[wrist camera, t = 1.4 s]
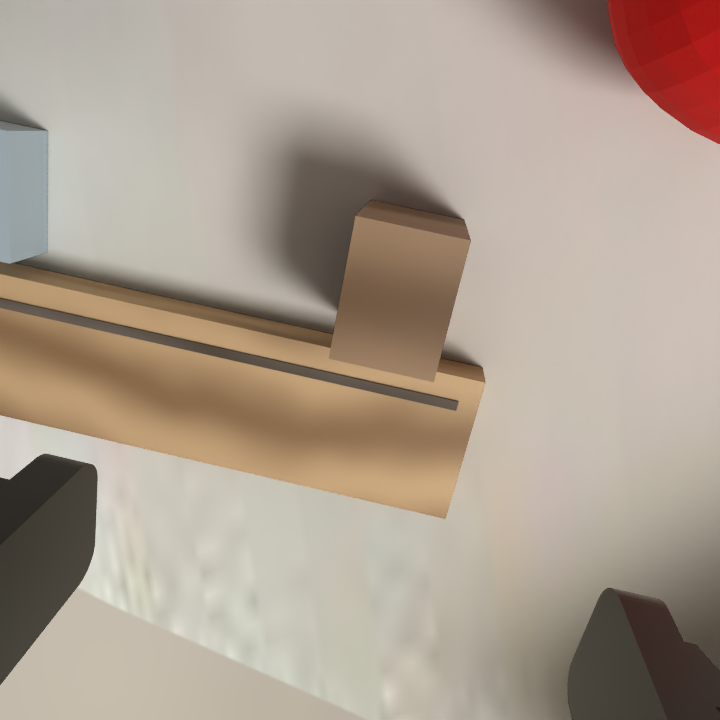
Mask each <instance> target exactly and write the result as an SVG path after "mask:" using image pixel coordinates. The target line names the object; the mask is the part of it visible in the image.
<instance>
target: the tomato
mask: <svg viewBox="0 0 720 720" xmlns="http://www.w3.org/2000/svg"><path fill="white" fill-rule="evenodd" d="M608 10H609V19H610V23H611V28H612V33H613V38H614V42H615V45H616V47H617V50H618V52H619V54H620V56H621V58H622V61H623V63H624V65H625V67H626V69H627V70H628V72H629V73H630V74H631V76H632V77H633V78H634V80H635V81H636V82H637V84H638V85H639V86H640V88H641V89H642V90H643V91H644V92H645V93H646V94H647V95H648V96H649V97H650V98H651V99H652V100H653V101H654V102H655V103H656V104H657V105H658V106H659V107H660V108H661V109H663V110H664V111H665V112H667V113H668V114H670V115H671V116H672V117H674V118H675V119H676V120H678V121H679V122H681V123H682V124H683V125H685V126H686V127H687V128H689V129H690V130H692V131H694V132H696V133H698V134H700V135H702V136H704V137H706V138H708V139H710V140H712V141H714V142H716V143H718V144H720V0H608Z"/></svg>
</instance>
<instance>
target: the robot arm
mask: <svg viewBox="0 0 720 720" xmlns="http://www.w3.org/2000/svg"><path fill="white" fill-rule="evenodd" d="M96 504H97V470H96V468H95V466H94V465H92V464H88V463H84V462H80V461H75V460H71V459H67V458H63V457H58V456H54V455H50V454H42V455H40V456H39V457H37V458H36V459H34V460H33V461H32V462H31V463H30V464H28V465H27V466H26V467H25V468H23V469H22V470H21V471H20V472H19V473H17V474H16V475H15V476H14V477H12V478H11V479H10V480H8V479H4V478H0V685H1V683H2V682H3V681H4V680H5V678H6V677H7V676H8V675H9V673H10V672H11V671H12V670H13V668H14V667H15V666H16V664H17V663H18V662H19V661H20V659H21V658H22V657H23V656H24V654H25V653H26V652H27V650H28V649H29V648H30V647H31V645H32V644H33V643H34V642H35V640H36V639H37V638H38V637H39V635H40V634H41V633H42V631H43V630H44V629H45V628H46V626H47V625H48V624H49V622H50V621H51V620H52V619H53V617H54V616H55V615H56V613H57V612H58V611H59V610H60V609H61V607H62V606H63V605H64V603H65V602H66V601H67V600H68V598H69V597H70V596H71V595H72V593H73V592H74V591H75V590H76V588H77V587H78V586H79V584H80V583H81V581H82V580H83V578H84V576H85V574H86V572H87V570H88V568H89V565H90V562H91V559H92V556H93V552H94V547H95V529H96ZM568 703H569V708H570V713H571V717H572V720H720V671H719V670H718V669H717V668H716V667H715V665H714V664H713V663H712V662H711V661H710V660H709V659H708V658H707V657H706V655H705V654H704V653H703V652H702V651H701V650H700V649H699V648H698V647H697V646H696V644H691V643H687V642H684V641H683V639H682V637H681V635H680V633H679V631H678V628H677V626H676V624H675V622H674V620H673V618H672V616H671V614H670V612H669V610H668V608H667V606H666V605H665V604H664V602H663V601H661V600H659V599H655V598H651V597H647V596H643V595H638V594H634V593H630V592H626V591H621V590H617V589H613V588H607V589H606V590H604V591H603V593H602V594H601V595H600V597H599V599H598V602H597V604H596V606H595V609H594V611H593V613H592V616H591V618H590V620H589V623H588V625H587V627H586V630H585V632H584V634H583V636H582V639H581V641H580V643H579V646H578V648H577V650H576V653H575V655H574V657H573V660H572V663H571V666H570V671H569V677H568Z"/></svg>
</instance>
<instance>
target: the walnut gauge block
mask: <svg viewBox="0 0 720 720" xmlns="http://www.w3.org/2000/svg"><path fill="white" fill-rule="evenodd" d="M470 242H471V240H470V236H469V233H468V230H467V227H466V224H465V221H464V220H463V219H459V218H454V217H449V216H445V215H440V214H435V213H431V212H426V211H421V210H417V209H412V208H407V207H403V206H398V205H393V204H389V203H384V202H379V201H375V200H370V201H369V202H368V203H367V204H366V205H365V206H364V207H363V208H362V210H361V211H360V212H359V213H358V214H357V215H356V216H355V221H354V226H353V232H352V237H351V242H350V248H349V253H348V258H347V263H346V269H345V274H344V279H343V285H342V290H341V295H340V301H339V306H338V311H337V317H336V322H335V327H334V333H333V338H332V343H331V349H330V354H329V359H332V360H337V361H341V362H346V363H350V364H355V365H359V366H363V367H368V368H372V369H377V370H381V371H386V372H390V373H394V374H399V375H403V376H408V377H412V378H417V379H421V380H426V381H430V382H434V380H435V376H436V372H437V368H438V365H439V361H440V357H441V353H442V349H443V345H444V342H445V338H446V334H447V330H448V326H449V322H450V319H451V315H452V311H453V307H454V303H455V299H456V296H457V292H458V288H459V284H460V280H461V276H462V273H463V269H464V265H465V261H466V257H467V253H468V250H469V246H470Z"/></svg>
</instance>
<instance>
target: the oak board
mask: <svg viewBox="0 0 720 720" xmlns="http://www.w3.org/2000/svg"><path fill="white" fill-rule="evenodd" d="M332 338H333V334H329V333H325V332H320V331H316V330H311V329H307V328H302V327H298V326H293V325H289V324H284V323H280V322H275V321H271V320H266V319H262V318H257V317H253V316H248V315H244V314H240V313H235V312H231V311H226V310H222V309H217V308H213V307H208V306H204V305H199V304H195V303H190V302H186V301H181V300H177V299H172V298H168V297H163V296H159V295H154V294H150V293H145V292H141V291H136V290H132V289H127V288H123V287H118V286H114V285H109V284H105V283H100V282H96V281H91V280H87V279H82V278H78V277H73V276H69V275H64V274H60V273H55V272H51V271H47V270H42V269H38V268H33V267H29V266H24V265H20V264H15V263H11V264H9V263H4V262H0V415H2V416H7V417H11V418H15V419H19V420H24V421H28V422H32V423H37V424H41V425H45V426H49V427H54V428H58V429H62V430H67V431H71V432H75V433H79V434H84V435H88V436H92V437H97V438H101V439H105V440H109V441H114V442H118V443H122V444H127V445H131V446H135V447H139V448H144V449H148V450H152V451H157V452H161V453H165V454H169V455H174V456H178V457H182V458H187V459H191V460H195V461H199V462H204V463H208V464H212V465H217V466H221V467H225V468H230V469H234V470H238V471H242V472H247V473H251V474H255V475H260V476H264V477H268V478H272V479H277V480H281V481H285V482H290V483H294V484H298V485H302V486H307V487H311V488H315V489H320V490H324V491H328V492H332V493H337V494H341V495H345V496H350V497H354V498H358V499H362V500H367V501H371V502H375V503H380V504H384V505H388V506H392V507H397V508H401V509H405V510H410V511H414V512H418V513H422V514H427V515H431V516H435V517H440V518H444V519H446V515H447V512H448V508H449V505H450V502H451V498H452V495H453V491H454V488H455V485H456V481H457V478H458V475H459V471H460V468H461V464H462V461H463V458H464V454H465V451H466V447H467V444H468V441H469V437H470V434H471V430H472V427H473V424H474V420H475V417H476V413H477V410H478V407H479V403H480V400H481V396H482V393H483V390H484V386H485V383H486V382H485V377H484V372H483V368H482V367H477V366H473V365H468V364H464V363H459V362H455V361H450V360H446V359H441V358H440V361H439V365H438V368H437V372H436V376H435V380H434V382H430V381H426V380H421V379H417V378H412V377H408V376H403V375H399V374H394V373H390V372H386V371H381V370H377V369H372V368H368V367H363V366H359V365H355V364H350V363H346V362H341V361H337V360H332V359H329V354H330V349H331V343H332Z"/></svg>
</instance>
